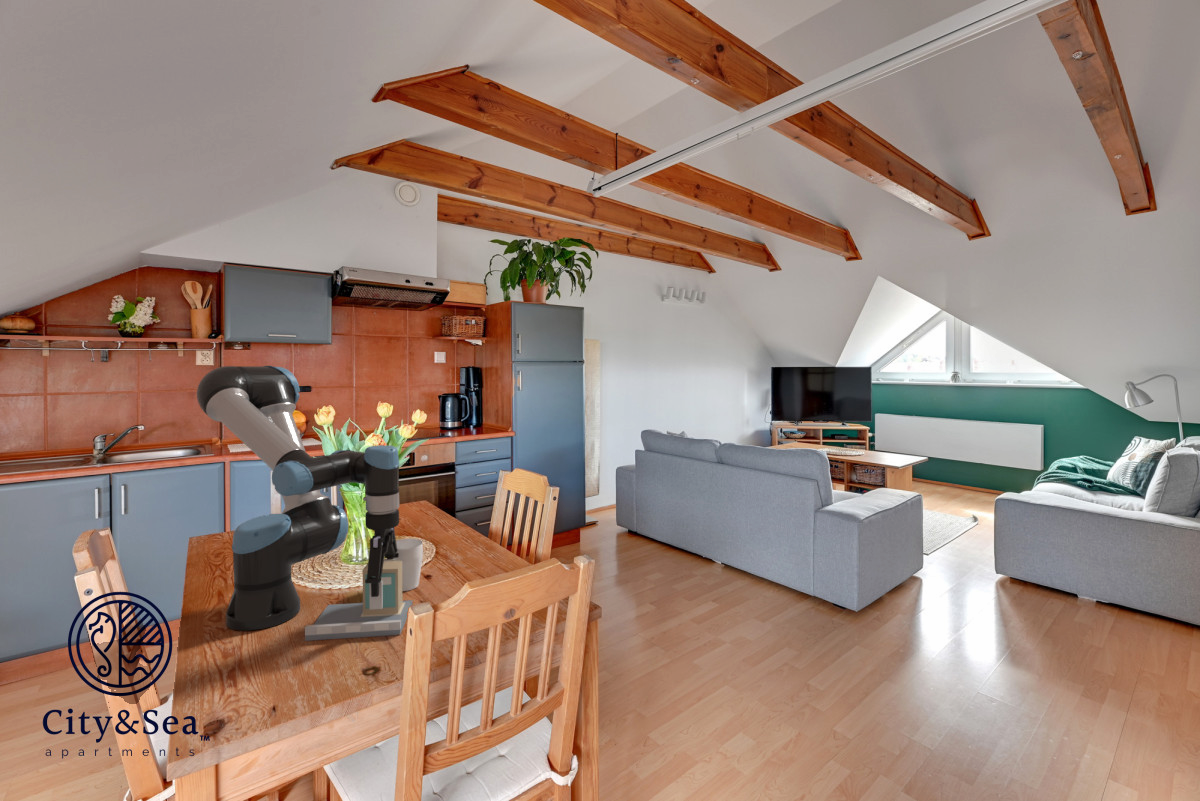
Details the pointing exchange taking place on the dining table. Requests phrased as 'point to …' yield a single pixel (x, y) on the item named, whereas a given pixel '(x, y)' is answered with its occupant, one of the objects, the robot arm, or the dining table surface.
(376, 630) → the grey flat rectangular block
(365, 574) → the tea box
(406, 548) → the cup
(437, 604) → the dining table surface
